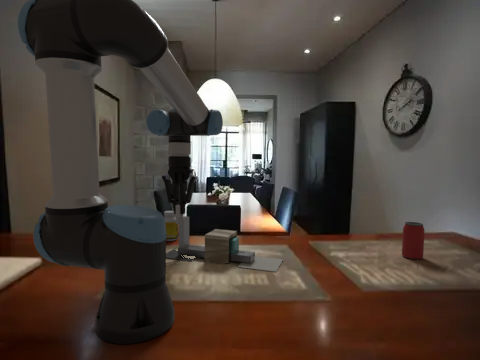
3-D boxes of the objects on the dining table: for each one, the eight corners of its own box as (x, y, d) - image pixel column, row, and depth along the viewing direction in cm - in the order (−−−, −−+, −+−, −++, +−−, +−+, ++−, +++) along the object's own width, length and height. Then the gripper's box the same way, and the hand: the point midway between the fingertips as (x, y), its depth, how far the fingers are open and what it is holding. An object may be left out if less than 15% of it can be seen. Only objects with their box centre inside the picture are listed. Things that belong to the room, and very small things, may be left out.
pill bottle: (175, 241, 125) (176, 213, 125) (160, 241, 126) (159, 212, 125) (179, 237, 132) (179, 210, 131) (164, 237, 132) (164, 210, 131)
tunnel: (227, 264, 99) (227, 237, 99) (204, 261, 102) (204, 234, 101) (236, 256, 108) (236, 231, 107) (215, 253, 110) (215, 229, 109)
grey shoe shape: (191, 261, 101) (191, 260, 101) (159, 257, 105) (159, 256, 105) (206, 251, 113) (206, 250, 113) (177, 248, 117) (177, 247, 117)
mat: (276, 272, 93) (276, 271, 93) (237, 267, 96) (237, 266, 96) (283, 260, 104) (283, 259, 104) (248, 256, 108) (249, 255, 108)
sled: (250, 263, 99) (251, 224, 98) (177, 254, 107) (177, 218, 106) (254, 258, 104) (255, 221, 103) (184, 250, 112) (184, 216, 111)
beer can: (417, 254, 112) (419, 221, 111) (426, 260, 106) (428, 225, 105) (398, 254, 113) (400, 221, 112) (406, 259, 106) (408, 225, 105)
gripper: (201, 156, 109) (201, 222, 110) (168, 155, 113) (168, 220, 114) (191, 155, 102) (191, 227, 103) (157, 155, 106) (157, 224, 107)
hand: (179, 223), depth 109 cm, fingers closed
